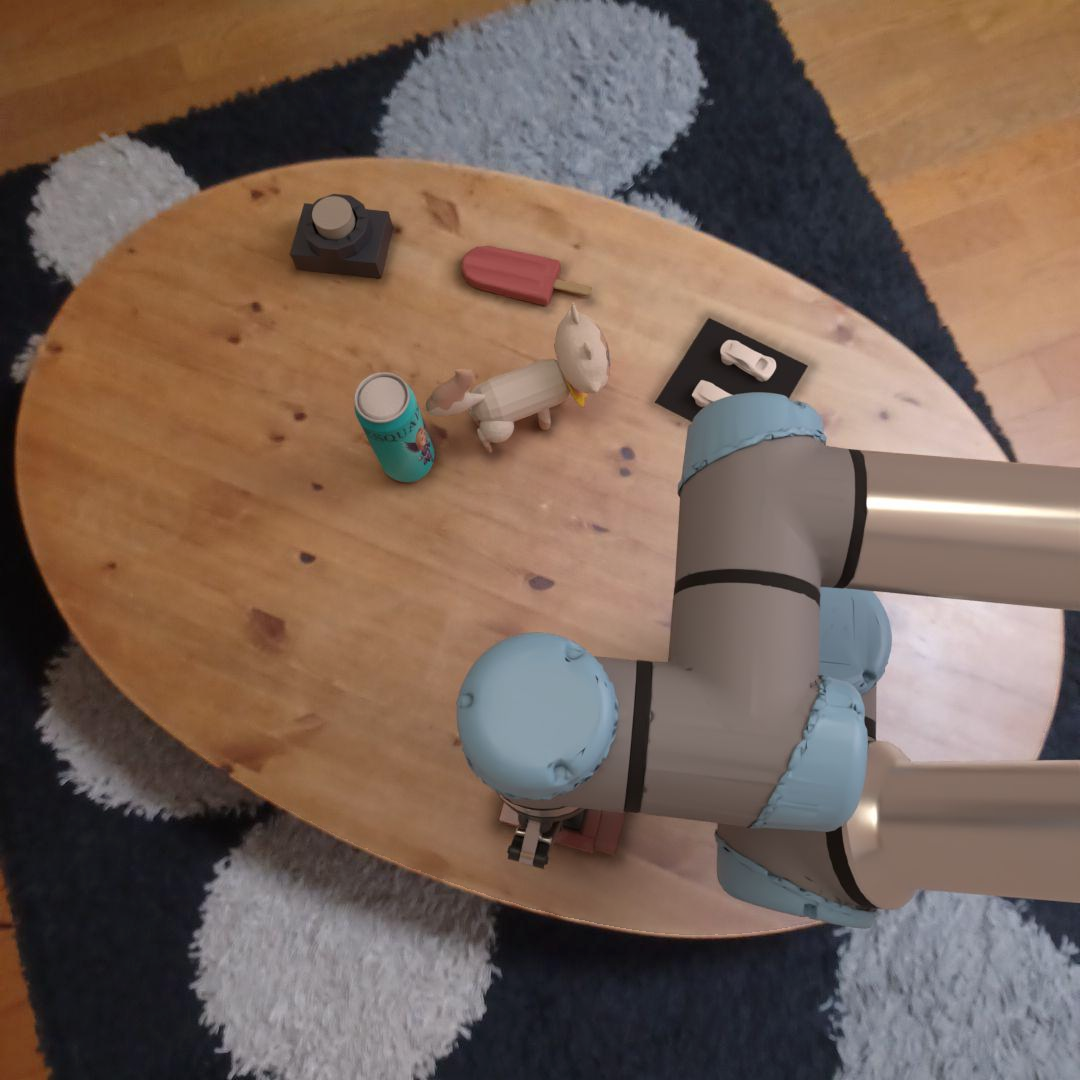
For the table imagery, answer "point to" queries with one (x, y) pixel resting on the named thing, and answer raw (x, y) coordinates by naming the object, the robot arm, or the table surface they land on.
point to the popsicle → (516, 274)
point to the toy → (530, 383)
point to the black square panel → (574, 821)
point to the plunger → (333, 218)
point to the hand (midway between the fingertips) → (558, 792)
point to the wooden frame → (583, 830)
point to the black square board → (727, 370)
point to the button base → (344, 243)
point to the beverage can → (394, 426)
